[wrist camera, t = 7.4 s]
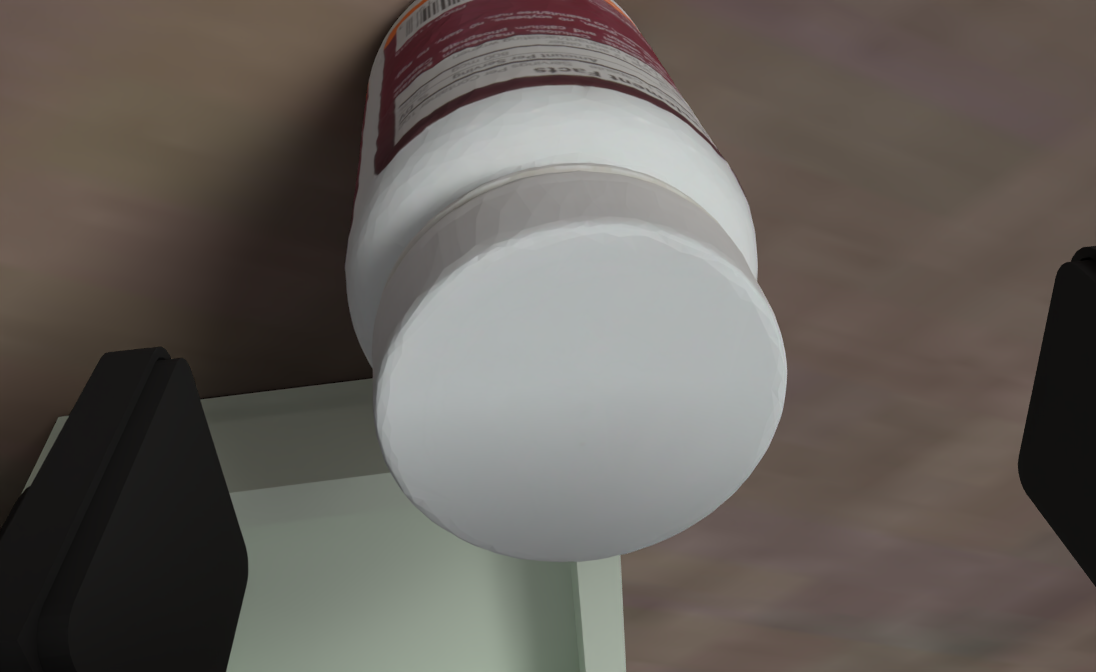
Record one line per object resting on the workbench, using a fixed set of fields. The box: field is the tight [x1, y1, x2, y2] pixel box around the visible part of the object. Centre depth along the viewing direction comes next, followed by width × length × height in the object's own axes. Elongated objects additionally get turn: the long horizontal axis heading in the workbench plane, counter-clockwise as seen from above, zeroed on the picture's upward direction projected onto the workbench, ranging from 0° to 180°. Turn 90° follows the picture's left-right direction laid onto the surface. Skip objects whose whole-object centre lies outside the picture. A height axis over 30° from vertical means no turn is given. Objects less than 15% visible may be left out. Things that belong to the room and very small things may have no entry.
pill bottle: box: [345, 0, 787, 562], centre depth 13 cm, size 5×5×8 cm
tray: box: [22, 378, 626, 672], centre depth 21 cm, size 10×10×3 cm
